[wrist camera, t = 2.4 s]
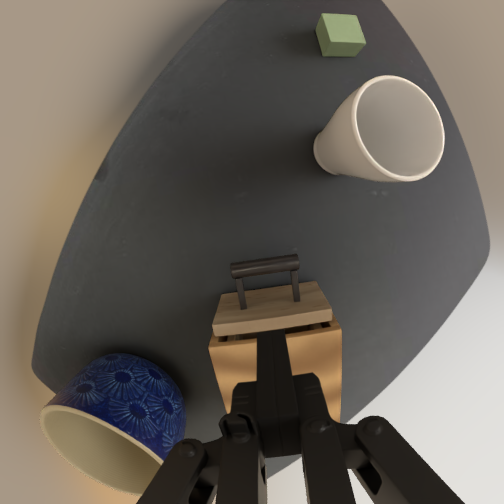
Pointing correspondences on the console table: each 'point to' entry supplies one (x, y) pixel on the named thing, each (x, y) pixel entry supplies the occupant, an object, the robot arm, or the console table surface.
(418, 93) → the drinking glass
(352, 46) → the block
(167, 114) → the console table surface
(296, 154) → the console table surface
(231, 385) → the cabinet
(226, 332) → the drawer
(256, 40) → the console table surface
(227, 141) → the console table surface
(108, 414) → the planter
